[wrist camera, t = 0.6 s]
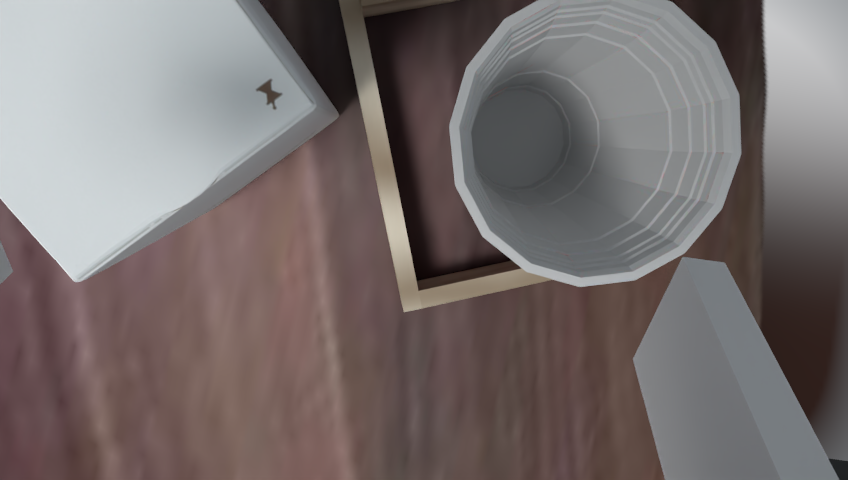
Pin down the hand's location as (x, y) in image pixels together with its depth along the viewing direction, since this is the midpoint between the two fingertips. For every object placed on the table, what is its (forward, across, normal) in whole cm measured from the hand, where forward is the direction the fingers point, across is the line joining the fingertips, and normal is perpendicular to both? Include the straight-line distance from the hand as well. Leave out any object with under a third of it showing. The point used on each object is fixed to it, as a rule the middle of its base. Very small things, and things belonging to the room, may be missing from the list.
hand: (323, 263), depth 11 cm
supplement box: (+19, -10, -6) cm, 23 cm away
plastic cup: (+21, +6, -7) cm, 23 cm away
